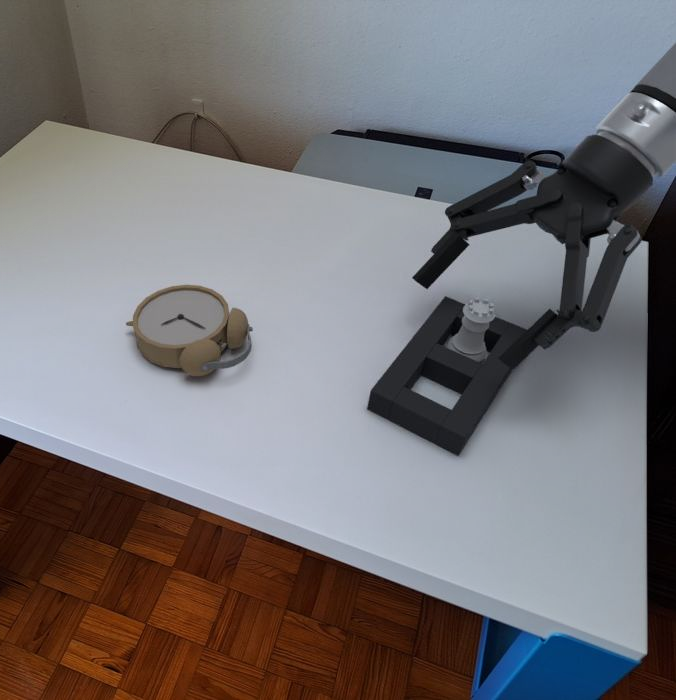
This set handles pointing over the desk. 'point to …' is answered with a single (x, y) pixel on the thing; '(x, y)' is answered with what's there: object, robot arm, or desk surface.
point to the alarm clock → (189, 329)
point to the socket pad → (444, 379)
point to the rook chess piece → (473, 330)
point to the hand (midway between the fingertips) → (459, 321)
